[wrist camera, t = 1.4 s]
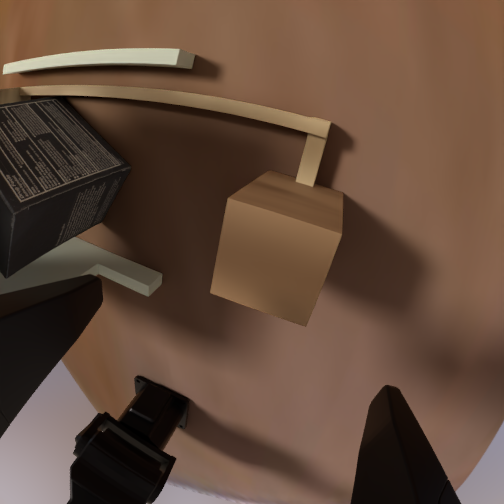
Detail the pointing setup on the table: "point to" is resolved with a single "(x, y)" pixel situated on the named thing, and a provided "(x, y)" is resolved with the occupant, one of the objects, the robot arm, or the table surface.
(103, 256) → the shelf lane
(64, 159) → the small box
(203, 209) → the table surface
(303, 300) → the wooden block with bar
